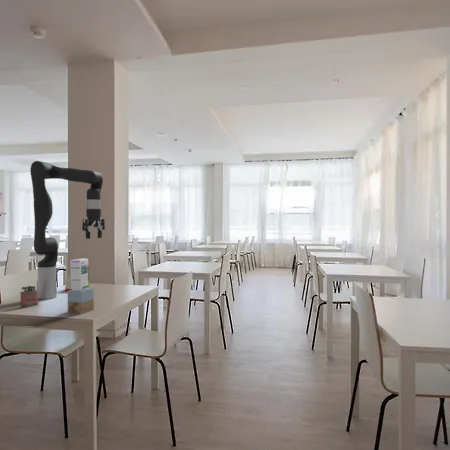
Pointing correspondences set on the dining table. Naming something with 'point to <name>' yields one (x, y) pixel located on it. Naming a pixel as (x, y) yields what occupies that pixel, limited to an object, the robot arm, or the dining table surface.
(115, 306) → the dining table surface
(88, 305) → the tower bottom block
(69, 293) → the tower top block
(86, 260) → the syrup box
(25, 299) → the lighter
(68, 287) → the kitchen timer
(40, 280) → the robot arm
